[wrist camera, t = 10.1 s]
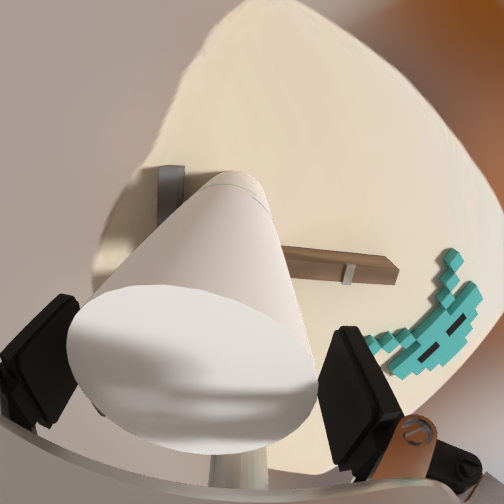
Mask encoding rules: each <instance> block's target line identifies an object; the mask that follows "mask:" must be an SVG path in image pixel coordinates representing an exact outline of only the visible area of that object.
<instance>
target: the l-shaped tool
mask: <svg viewBox="0 0 504 504" xmlns="http://www.w3.org/2000/svg"><path fill="white" fill-rule="evenodd" d="M184 173H185V166H177V165H166V166H162V167H159V174H158V204H157V228H158V227H159V226H160V225H161V224H162V223H163V222H164V221H165V220H166V219H167V218H168V217H169V216H170V215H171V214H172V213H173V212H175V211H176V210H177V209H178V208H179V207H180V206H181V205H182V204H183V189H184ZM281 248H282V251H283V254H284V258H285V261H286V264H287V268H288V271H289V274H290V278H298V279H311V280H324V281H338V282H342V285H351V282H352V283H367V284H383V285H395V282H396V279H397V276H398V273H399V269H398V268H397V267H396V266H395V265H394V264H393V263H392V262H391V261H390V260H389V259H388V258H386V257H385V256H377V255H367V254H358V253H348V252H339V251H329V250H320V249H310V248H300V247H290V246H281Z"/></svg>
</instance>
